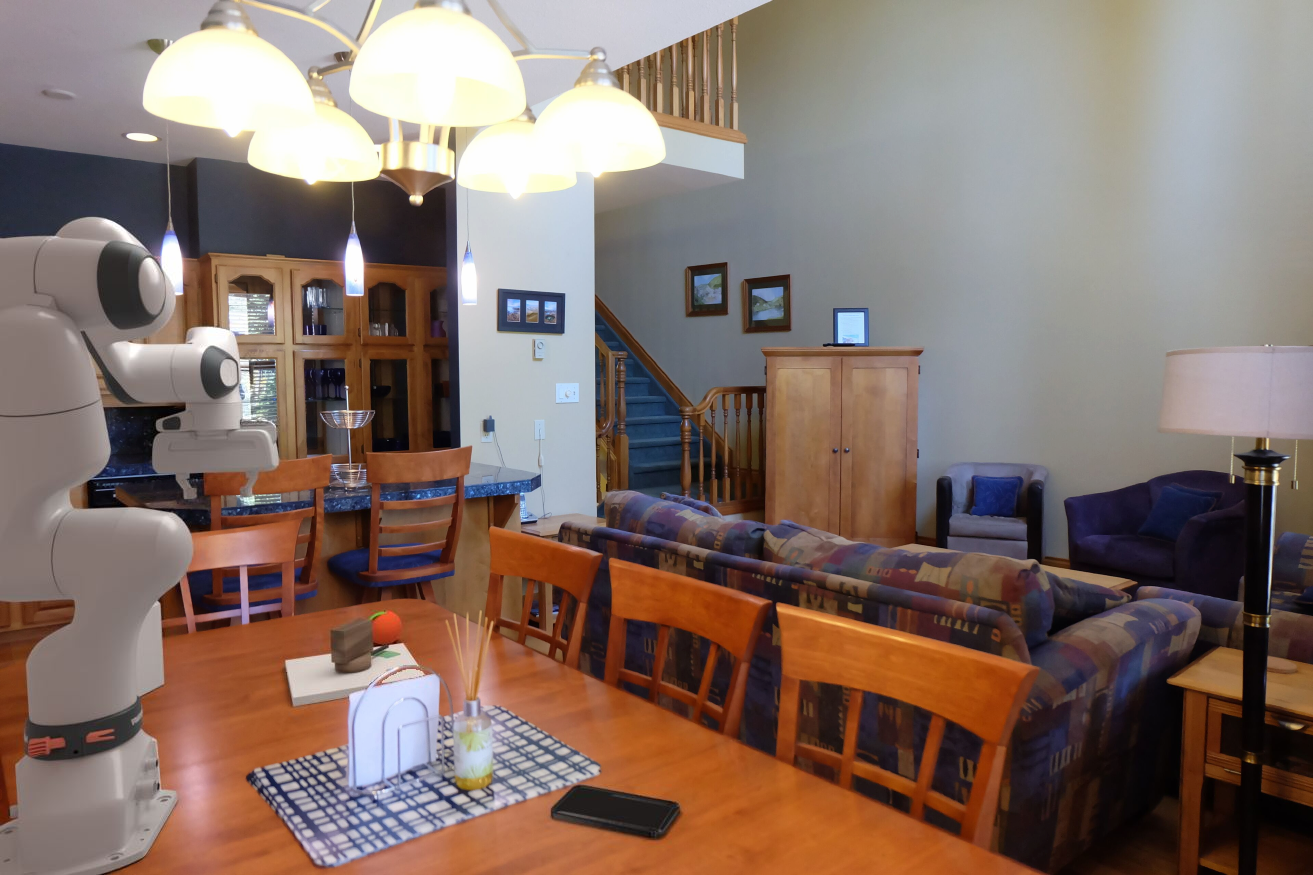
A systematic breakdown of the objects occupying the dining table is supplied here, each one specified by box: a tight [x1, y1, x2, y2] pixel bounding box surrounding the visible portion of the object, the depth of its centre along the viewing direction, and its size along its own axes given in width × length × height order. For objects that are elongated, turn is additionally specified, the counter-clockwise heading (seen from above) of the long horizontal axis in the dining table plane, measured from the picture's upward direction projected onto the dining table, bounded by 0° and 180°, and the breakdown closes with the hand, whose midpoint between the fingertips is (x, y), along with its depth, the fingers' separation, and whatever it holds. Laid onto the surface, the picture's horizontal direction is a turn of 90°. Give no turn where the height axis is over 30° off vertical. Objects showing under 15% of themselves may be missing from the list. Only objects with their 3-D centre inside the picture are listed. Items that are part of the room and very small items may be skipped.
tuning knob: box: [329, 618, 390, 673], centre depth 158 cm, size 6×14×8 cm, turn 162°
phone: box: [550, 784, 681, 840], centre depth 104 cm, size 8×1×15 cm
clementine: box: [369, 610, 403, 646], centre depth 174 cm, size 8×7×7 cm
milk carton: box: [136, 600, 165, 698], centre depth 148 cm, size 7×7×19 cm
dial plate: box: [284, 642, 426, 707], centre depth 155 cm, size 22×22×2 cm
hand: (218, 497), depth 148 cm, fingers open, 8 cm apart
